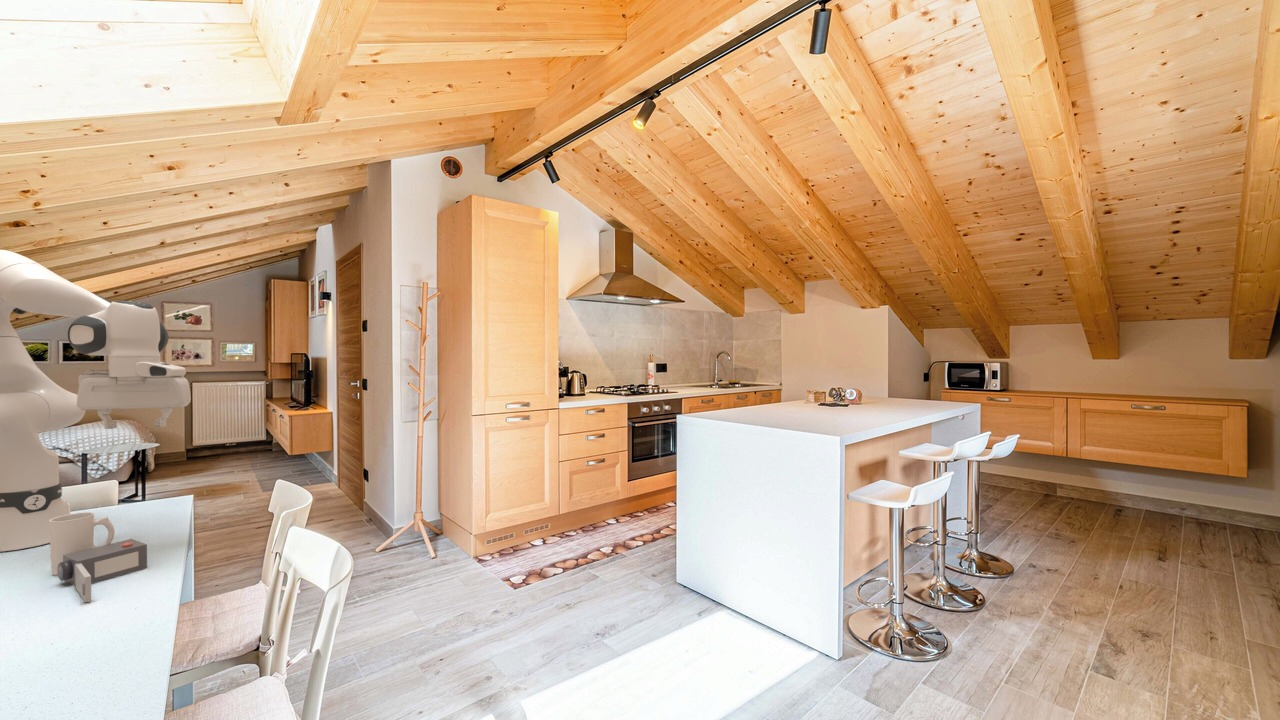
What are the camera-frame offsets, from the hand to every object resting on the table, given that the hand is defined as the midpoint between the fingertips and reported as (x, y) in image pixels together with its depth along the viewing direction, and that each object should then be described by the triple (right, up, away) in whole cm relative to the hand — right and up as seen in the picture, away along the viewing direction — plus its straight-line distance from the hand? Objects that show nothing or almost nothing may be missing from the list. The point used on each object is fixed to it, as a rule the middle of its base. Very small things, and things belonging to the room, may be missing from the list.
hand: (136, 427), depth 122 cm
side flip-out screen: (+8, -31, -19) cm, 37 cm away
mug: (-7, -31, -5) cm, 33 cm away
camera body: (+2, -31, -9) cm, 32 cm away
